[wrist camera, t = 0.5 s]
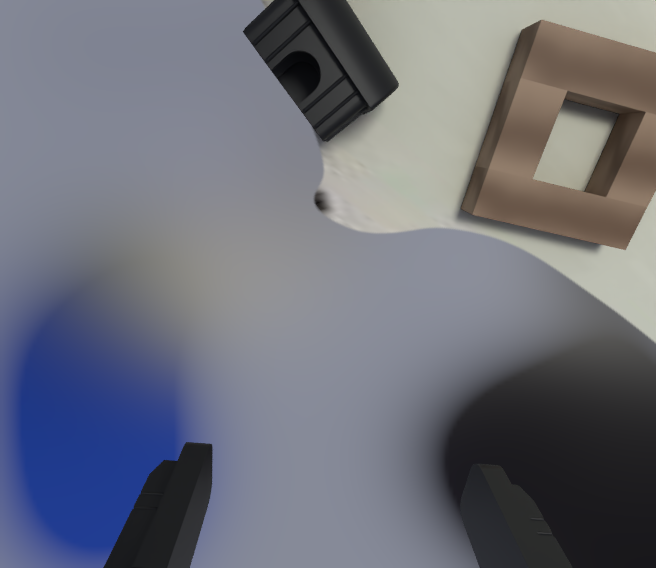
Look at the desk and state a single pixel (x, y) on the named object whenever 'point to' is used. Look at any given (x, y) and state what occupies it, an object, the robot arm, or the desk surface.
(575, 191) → the frame
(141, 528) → the robot arm
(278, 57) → the end cap
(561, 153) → the desk surface
